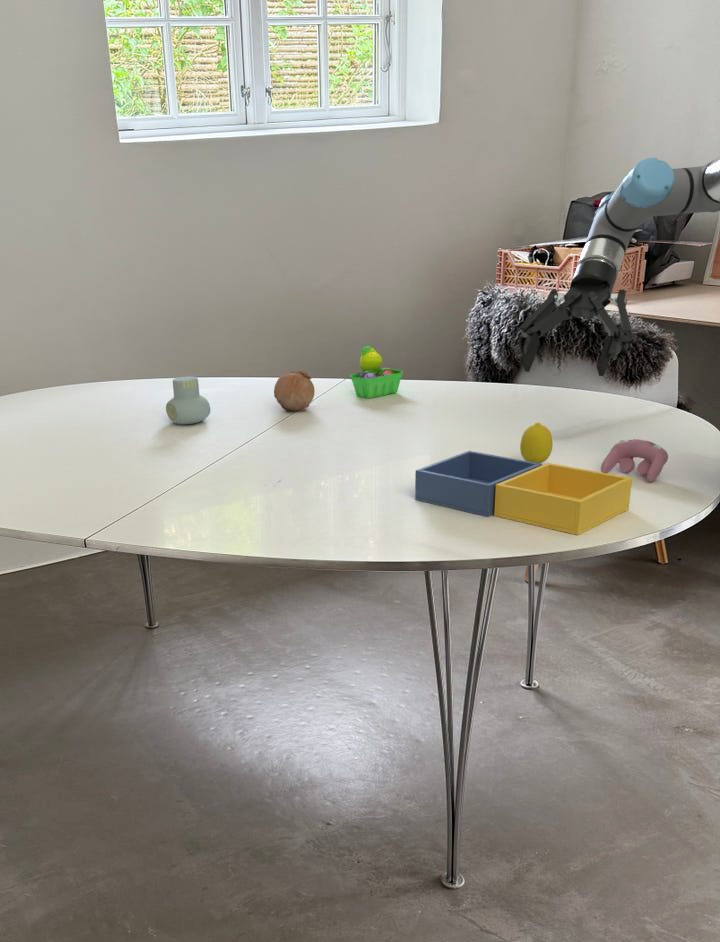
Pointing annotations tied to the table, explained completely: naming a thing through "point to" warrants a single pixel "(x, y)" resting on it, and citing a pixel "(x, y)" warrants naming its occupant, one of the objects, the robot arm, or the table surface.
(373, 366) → the fruit basket
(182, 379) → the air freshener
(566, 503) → the yellow bin
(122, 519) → the table surface
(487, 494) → the blue bin
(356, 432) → the table surface
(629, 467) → the video game controller
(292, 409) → the onion
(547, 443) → the lemon
